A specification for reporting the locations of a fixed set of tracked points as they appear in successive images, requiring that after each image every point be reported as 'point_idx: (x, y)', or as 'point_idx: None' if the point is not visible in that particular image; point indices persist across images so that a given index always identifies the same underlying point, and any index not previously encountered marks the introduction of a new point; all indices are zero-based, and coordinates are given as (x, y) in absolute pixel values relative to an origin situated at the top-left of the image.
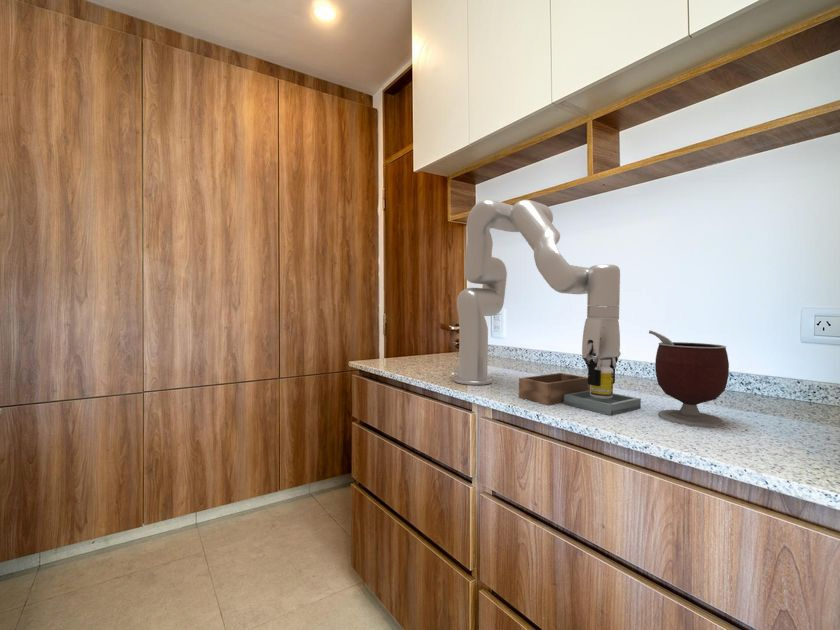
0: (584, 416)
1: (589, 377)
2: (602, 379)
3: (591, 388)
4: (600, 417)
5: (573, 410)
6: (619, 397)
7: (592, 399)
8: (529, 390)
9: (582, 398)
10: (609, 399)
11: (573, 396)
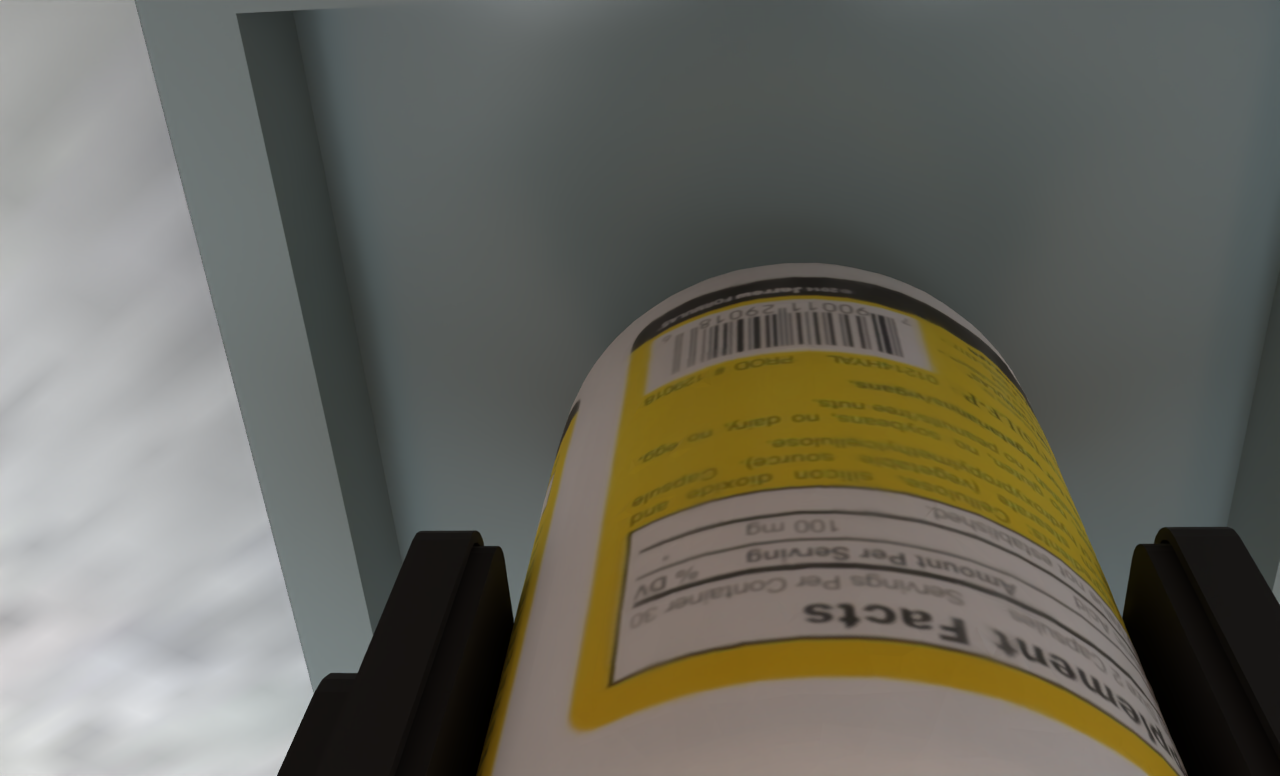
0: (8, 585)
1: (298, 748)
2: None
3: (550, 485)
4: (192, 704)
5: (75, 305)
6: (1257, 552)
7: (883, 161)
8: None
9: (255, 391)
10: (1214, 341)
11: (203, 175)
